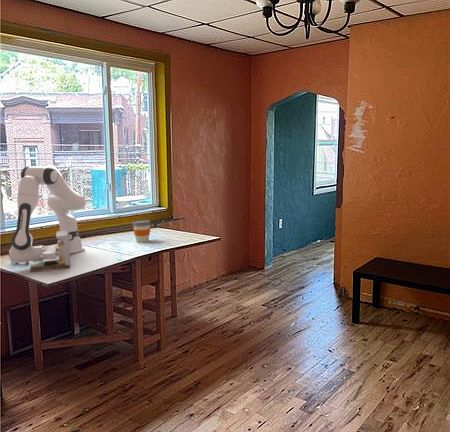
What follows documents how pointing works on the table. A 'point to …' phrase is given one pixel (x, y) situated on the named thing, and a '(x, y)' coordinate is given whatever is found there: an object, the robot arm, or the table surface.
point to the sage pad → (37, 264)
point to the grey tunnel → (64, 237)
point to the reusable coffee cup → (141, 230)
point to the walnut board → (50, 266)
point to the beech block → (61, 248)
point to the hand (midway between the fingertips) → (64, 251)
